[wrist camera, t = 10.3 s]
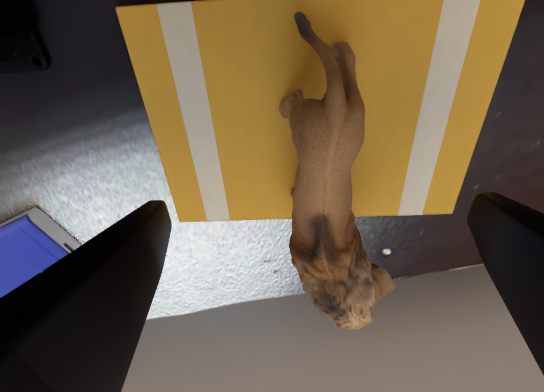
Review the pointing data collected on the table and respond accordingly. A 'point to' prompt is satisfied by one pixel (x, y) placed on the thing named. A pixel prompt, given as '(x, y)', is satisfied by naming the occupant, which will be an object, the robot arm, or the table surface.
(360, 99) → the lion figurine
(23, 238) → the hard drive
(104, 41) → the table surface
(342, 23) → the towel
